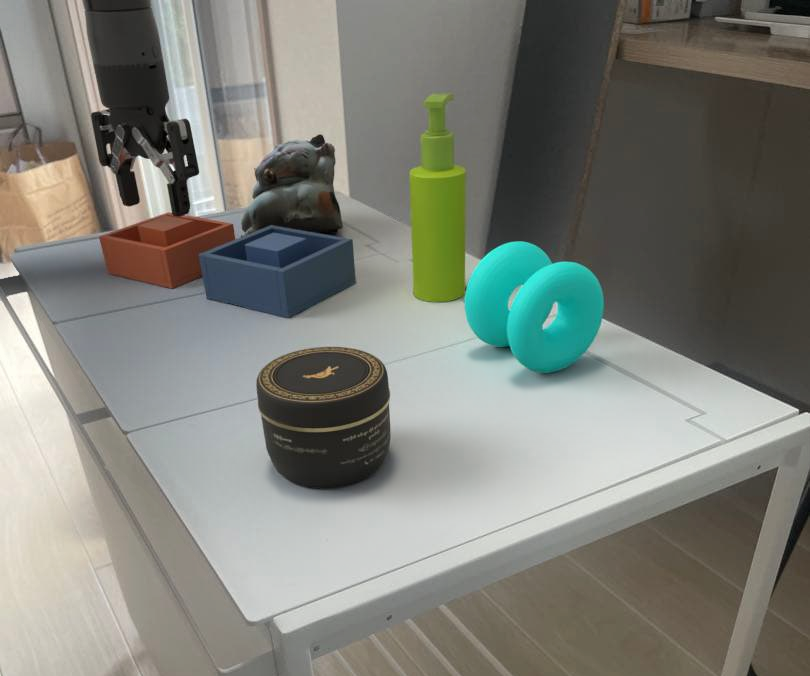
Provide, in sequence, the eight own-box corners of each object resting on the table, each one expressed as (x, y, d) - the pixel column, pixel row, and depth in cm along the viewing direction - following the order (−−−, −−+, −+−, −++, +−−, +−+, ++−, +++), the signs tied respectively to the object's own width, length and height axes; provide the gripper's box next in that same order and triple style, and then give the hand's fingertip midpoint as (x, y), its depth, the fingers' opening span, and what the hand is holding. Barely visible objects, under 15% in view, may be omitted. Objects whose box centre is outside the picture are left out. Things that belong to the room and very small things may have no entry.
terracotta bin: (107, 273, 105) (98, 236, 103) (175, 247, 113) (168, 211, 110) (172, 288, 100) (164, 250, 97) (239, 260, 108) (233, 223, 105)
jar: (416, 445, 68) (413, 358, 64) (348, 507, 61) (339, 414, 57) (316, 419, 72) (306, 335, 68) (242, 474, 66) (225, 385, 61)
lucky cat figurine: (222, 243, 113) (216, 134, 111) (286, 256, 123) (281, 156, 121) (302, 223, 104) (296, 105, 102) (364, 239, 113) (360, 131, 112)
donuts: (540, 328, 86) (546, 229, 80) (604, 362, 79) (616, 256, 73) (458, 351, 83) (458, 248, 77) (517, 389, 76) (522, 279, 70)
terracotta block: (145, 264, 106) (137, 225, 103) (174, 253, 109) (166, 215, 106) (172, 270, 103) (164, 231, 101) (200, 259, 107) (193, 220, 104)
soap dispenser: (471, 281, 98) (473, 90, 86) (458, 303, 93) (458, 102, 81) (423, 279, 99) (418, 89, 87) (407, 300, 94) (400, 101, 82)
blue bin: (206, 298, 97) (198, 254, 94) (276, 266, 105) (271, 224, 102) (288, 318, 91) (282, 271, 88) (356, 282, 99) (352, 238, 96)
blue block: (250, 287, 97) (244, 244, 94) (278, 274, 100) (273, 232, 97) (283, 295, 95) (278, 250, 92) (311, 281, 98) (306, 238, 95)
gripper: (57, 57, 93) (92, 209, 103) (147, 65, 86) (175, 226, 96) (110, 49, 98) (138, 195, 108) (198, 56, 91) (221, 210, 101)
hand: (156, 209), depth 102 cm, fingers open, 8 cm apart
